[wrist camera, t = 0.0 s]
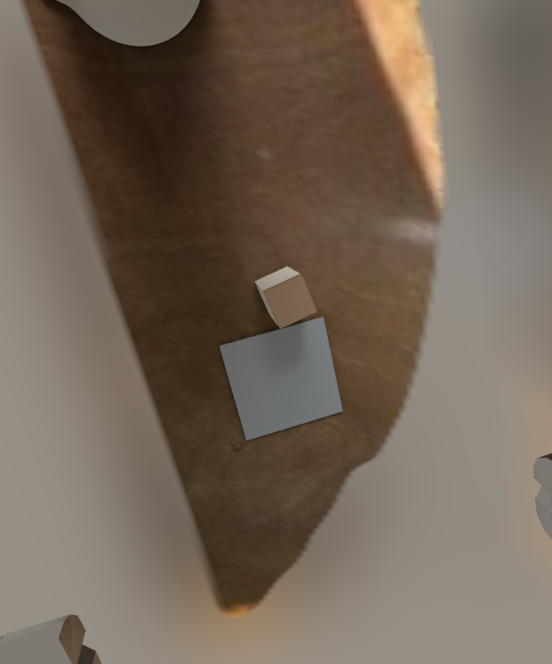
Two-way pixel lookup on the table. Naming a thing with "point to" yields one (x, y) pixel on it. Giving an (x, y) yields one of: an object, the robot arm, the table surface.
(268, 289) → the cream block
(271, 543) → the table surface
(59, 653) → the robot arm
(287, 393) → the slate mat
